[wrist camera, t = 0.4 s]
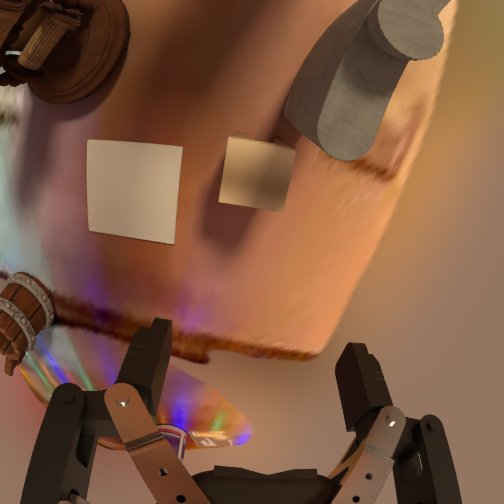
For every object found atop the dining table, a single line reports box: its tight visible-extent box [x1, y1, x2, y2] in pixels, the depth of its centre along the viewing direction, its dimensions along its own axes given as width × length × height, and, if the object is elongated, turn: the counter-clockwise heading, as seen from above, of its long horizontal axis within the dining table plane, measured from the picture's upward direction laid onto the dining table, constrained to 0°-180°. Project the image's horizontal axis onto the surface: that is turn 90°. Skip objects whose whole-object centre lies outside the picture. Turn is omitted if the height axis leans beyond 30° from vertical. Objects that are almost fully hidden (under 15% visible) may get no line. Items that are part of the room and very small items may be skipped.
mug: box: [0, 272, 55, 376], centre depth 37 cm, size 12×14×15 cm
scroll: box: [0, 0, 131, 104], centre depth 15 cm, size 15×15×20 cm
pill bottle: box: [157, 425, 186, 464], centre depth 55 cm, size 8×8×14 cm
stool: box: [219, 132, 297, 212], centre depth 28 cm, size 6×6×8 cm
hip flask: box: [284, 0, 451, 161], centre depth 17 cm, size 16×4×20 cm, turn 152°
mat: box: [87, 139, 183, 244], centre depth 33 cm, size 12×12×1 cm
